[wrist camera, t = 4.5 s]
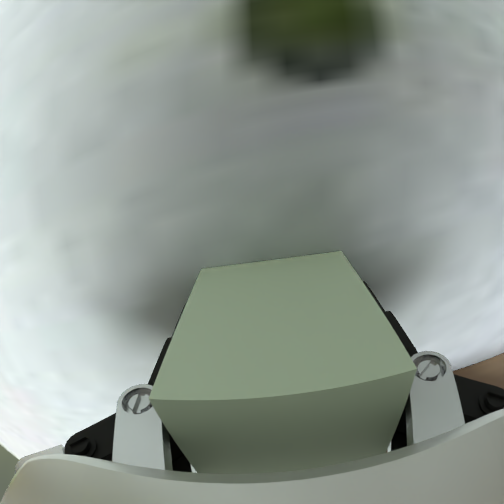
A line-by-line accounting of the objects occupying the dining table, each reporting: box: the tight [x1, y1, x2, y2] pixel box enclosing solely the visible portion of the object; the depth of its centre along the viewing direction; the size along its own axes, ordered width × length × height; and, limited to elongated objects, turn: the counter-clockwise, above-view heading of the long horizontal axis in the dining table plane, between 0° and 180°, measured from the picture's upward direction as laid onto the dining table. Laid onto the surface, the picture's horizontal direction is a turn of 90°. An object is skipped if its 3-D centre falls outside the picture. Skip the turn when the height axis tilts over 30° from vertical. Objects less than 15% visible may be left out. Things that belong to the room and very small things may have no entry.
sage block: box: [149, 251, 417, 474], centre depth 8 cm, size 5×5×6 cm
